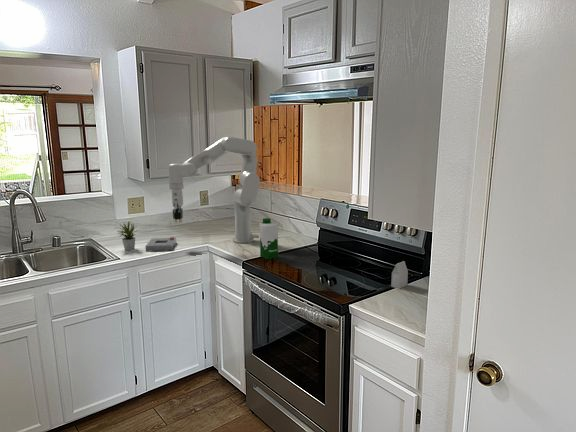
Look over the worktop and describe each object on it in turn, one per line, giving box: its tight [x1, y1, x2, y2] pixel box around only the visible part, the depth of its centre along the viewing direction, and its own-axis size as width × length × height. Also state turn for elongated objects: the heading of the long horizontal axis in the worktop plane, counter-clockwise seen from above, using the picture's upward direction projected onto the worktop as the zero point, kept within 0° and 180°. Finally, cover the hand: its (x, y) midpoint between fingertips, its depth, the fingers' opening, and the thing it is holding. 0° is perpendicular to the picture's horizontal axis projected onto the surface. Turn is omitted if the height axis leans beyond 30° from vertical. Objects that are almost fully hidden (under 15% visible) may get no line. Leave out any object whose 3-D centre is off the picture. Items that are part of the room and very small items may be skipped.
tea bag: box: [390, 260, 409, 289], centre depth 180 cm, size 4×7×10 cm, turn 136°
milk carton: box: [258, 217, 280, 260], centre depth 223 cm, size 9×9×20 cm
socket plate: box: [145, 236, 177, 252], centre depth 247 cm, size 14×18×4 cm
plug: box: [172, 207, 184, 224], centre depth 241 cm, size 5×4×8 cm
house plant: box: [115, 220, 137, 251], centre depth 242 cm, size 14×14×16 cm
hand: (178, 218), depth 241 cm, fingers closed on plug, 4 cm apart
